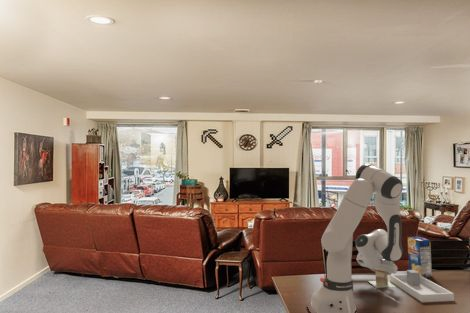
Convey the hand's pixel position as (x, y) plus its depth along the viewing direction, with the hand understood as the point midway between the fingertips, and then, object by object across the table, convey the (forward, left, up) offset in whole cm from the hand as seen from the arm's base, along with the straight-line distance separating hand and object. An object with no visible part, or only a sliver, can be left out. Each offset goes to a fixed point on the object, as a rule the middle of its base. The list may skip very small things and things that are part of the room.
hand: (381, 272), depth 179 cm
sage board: (-1, 0, -7) cm, 7 cm away
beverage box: (+30, +13, -8) cm, 34 cm away
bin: (+14, -11, -7) cm, 19 cm away
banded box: (0, 0, -6) cm, 6 cm away
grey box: (+16, -3, -6) cm, 17 cm away
